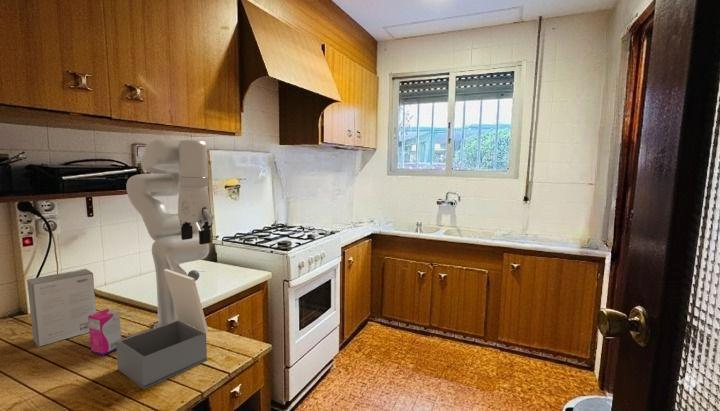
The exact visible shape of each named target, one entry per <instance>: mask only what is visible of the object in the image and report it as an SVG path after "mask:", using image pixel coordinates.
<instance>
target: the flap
mask: <svg viewBox="0 0 720 411" xmlns="http://www.w3.org/2000/svg"><path fill="white" fill-rule="evenodd" d="M164 273H165V276H166V279H167V283H168V286H169V290H170V293H171V296H172V300H173V303H174V307H175V310H176V313H177V317H178V320H180V321H182V322H184V323H186V324H188V325H190V326H192V327H193V328H196V329H198V330H200V331H202V332H204V333H206V334H208V333H209V328H208V325H207V324H208V323H207V321H206V316H205V314H204V313H205V312H204V310H203V306H202V303H201V299H200V298H201V297H200V294H199V292H198V286H197V283H196V281H198V280H199V279H200V272H199V271H198V270H196V269H195V270H193V269H192V270H190V271H189V272H188V273H187V275H188V276H186V275H183V274H180V273H177V272H174V271H171V270H168V269H165V270H164Z"/></svg>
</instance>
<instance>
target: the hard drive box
mask: <svg viewBox="0 0 720 411" xmlns="http://www.w3.org/2000/svg"><path fill="white" fill-rule="evenodd" d="M26 282H27V292H28V303H29V311H30V320H31V321H30V322H31V328H32V340H33V342H34V344H35V345H36V346H37V348H38V347H39V348H40V347H41V346H46V345H50V344H54V343H56V342H59V341H64V340H66V339H70V338H74V337H78V336H82V335H84V334H88V333H90V332H89V321H88V315H91V314H94V313H97V309H96V308H97V307H96V306H97V305H96V294H95V281H94V273H93V272H92V271H90V270H89V269H87V268H82V269H77V270H72V271H65V272H60V273H59V272H58V273H54V274H50V275H44V276H39V277H38V276H37V277H34V278H28V279H26Z"/></svg>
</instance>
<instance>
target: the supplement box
mask: <svg viewBox="0 0 720 411" xmlns="http://www.w3.org/2000/svg"><path fill="white" fill-rule="evenodd" d="M120 318H121V317H120V311H119V310H114V309H110V308H106V309H103V310H100V311H96V313H94V314H91V315H88V321H89V332H88V333H89V342H90V352H91V353H94V354H97V355H100V356H102V357H103V356H106V355H108V354H110V353H112V352H115V351H117V347H116V341H118V340H121V339H122V329H121V319H120Z"/></svg>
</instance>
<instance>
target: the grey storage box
mask: <svg viewBox="0 0 720 411" xmlns="http://www.w3.org/2000/svg"><path fill="white" fill-rule="evenodd" d="M116 347H117V350H116V360H117V370H118V371H120V372H121V373H122V374H123V375H125V376H126V377H127V378H128V379H130V380H131V381H132V382H133V383H135V385H137V386H139V387H140V388H142V390H146V389H147V388H150V387H153V386H155V385H156V384H159V383H161V382H163V381H166V380H168V379H170V378H172V377H174V376H177V375H178V374H180V373H183V372H185V371H188V370H189V369H191V368H194V367H196V366H198V365H200V364H202V363H204V362H206V361H208V353H207V352H208V350H207V347H208V346H207V333H204V332H202V331H200V330H198V329H196V328H194V327H191V326H189V325H187V324H185V323H183V322H181V321H179V320H178V321H175V322H172V323H169V324H166V325H163V326H160V327H157V328H154V329H153V328H151V329H148V330H146V331H142V332H140V333H137V334H134V335H131V336H128V337H127V336H126V337H124V338H121V340H118V341H116Z"/></svg>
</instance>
